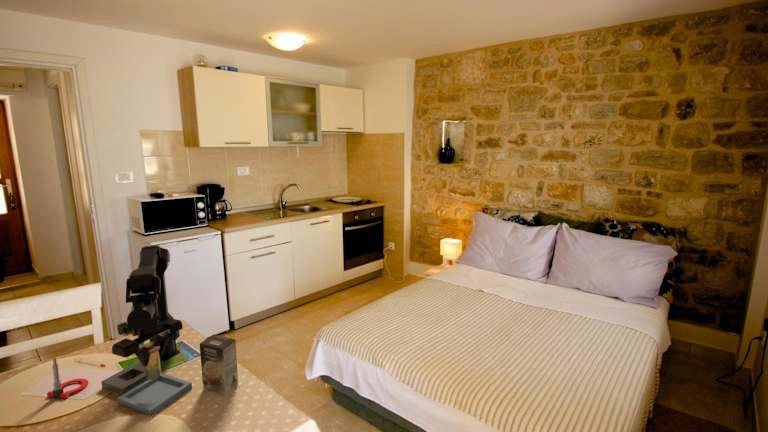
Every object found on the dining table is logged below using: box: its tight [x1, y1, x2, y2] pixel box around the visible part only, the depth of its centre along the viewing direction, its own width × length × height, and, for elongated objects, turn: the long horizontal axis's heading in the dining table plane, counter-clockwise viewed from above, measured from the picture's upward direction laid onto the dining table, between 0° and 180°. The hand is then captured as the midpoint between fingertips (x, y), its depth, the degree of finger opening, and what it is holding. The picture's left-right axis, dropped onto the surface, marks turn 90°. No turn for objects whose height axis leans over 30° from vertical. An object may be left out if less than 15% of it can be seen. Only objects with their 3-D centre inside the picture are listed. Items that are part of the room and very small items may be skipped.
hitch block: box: [101, 361, 149, 396], centre depth 125 cm, size 12×10×2 cm
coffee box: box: [199, 333, 239, 396], centre depth 121 cm, size 9×6×16 cm
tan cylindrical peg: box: [144, 341, 162, 380], centre depth 116 cm, size 5×5×10 cm
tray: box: [116, 372, 193, 417], centre depth 118 cm, size 14×14×2 cm
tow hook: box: [46, 356, 89, 400], centre depth 120 cm, size 8×13×9 cm
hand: (152, 362), depth 116 cm, fingers closed on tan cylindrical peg, 4 cm apart
